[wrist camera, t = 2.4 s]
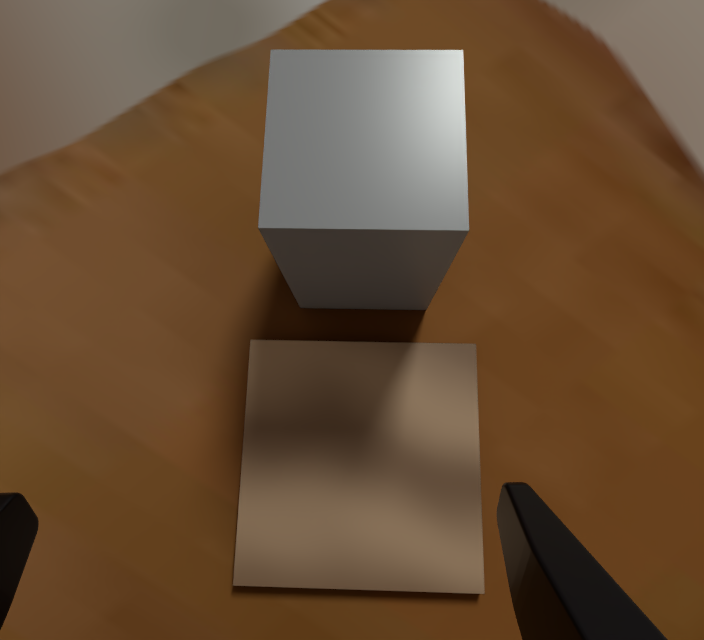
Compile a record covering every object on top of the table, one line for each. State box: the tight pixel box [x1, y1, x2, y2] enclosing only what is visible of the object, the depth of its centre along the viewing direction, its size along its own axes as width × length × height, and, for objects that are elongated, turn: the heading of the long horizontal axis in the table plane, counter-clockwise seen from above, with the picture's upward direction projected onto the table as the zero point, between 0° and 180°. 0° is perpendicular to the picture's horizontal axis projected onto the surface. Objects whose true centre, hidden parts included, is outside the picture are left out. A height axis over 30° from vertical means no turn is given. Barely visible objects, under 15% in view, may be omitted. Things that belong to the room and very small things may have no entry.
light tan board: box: [233, 340, 484, 594], centre depth 22 cm, size 11×11×1 cm
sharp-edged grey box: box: [258, 50, 469, 310], centre depth 20 cm, size 6×6×10 cm
